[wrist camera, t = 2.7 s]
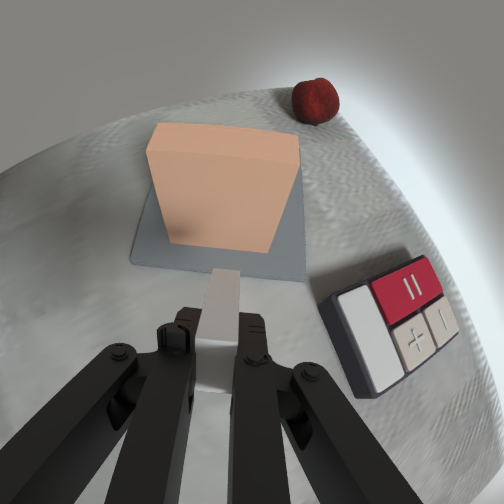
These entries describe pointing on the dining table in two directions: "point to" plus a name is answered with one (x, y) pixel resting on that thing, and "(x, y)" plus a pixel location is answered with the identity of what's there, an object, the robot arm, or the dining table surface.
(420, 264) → the calculator
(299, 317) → the dining table surface
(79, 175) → the dining table surface
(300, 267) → the mat
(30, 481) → the robot arm
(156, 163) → the block
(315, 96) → the apple
